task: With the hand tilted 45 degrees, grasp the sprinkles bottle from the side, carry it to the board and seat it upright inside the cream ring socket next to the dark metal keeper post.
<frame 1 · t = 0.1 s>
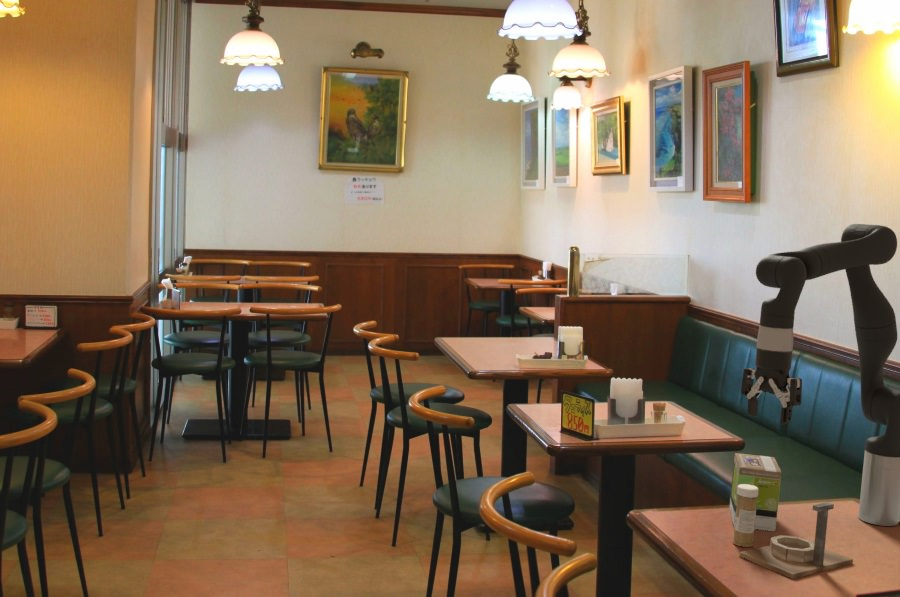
hand: (768, 419, 222), 29 cm above the table, tool pointing down, fingers open, 8 cm apart
socket base: (795, 560, 218), on the table
sprinkles bottle: (743, 545, 227), on the table
tea box: (751, 521, 245), on the table
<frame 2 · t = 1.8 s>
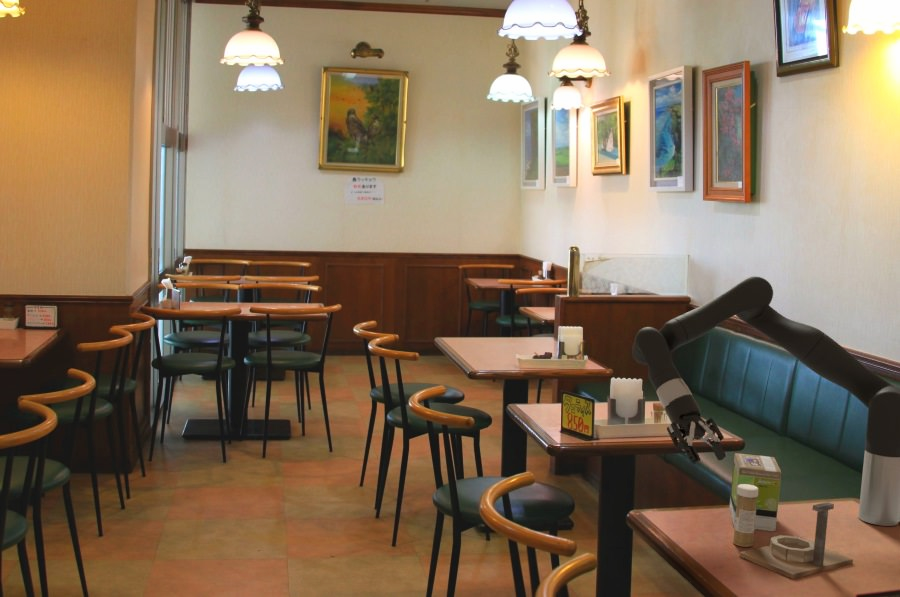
hand: (709, 460, 234), 16 cm above the table, tool tilted 45°, fingers open, 8 cm apart
nothing on the table moved.
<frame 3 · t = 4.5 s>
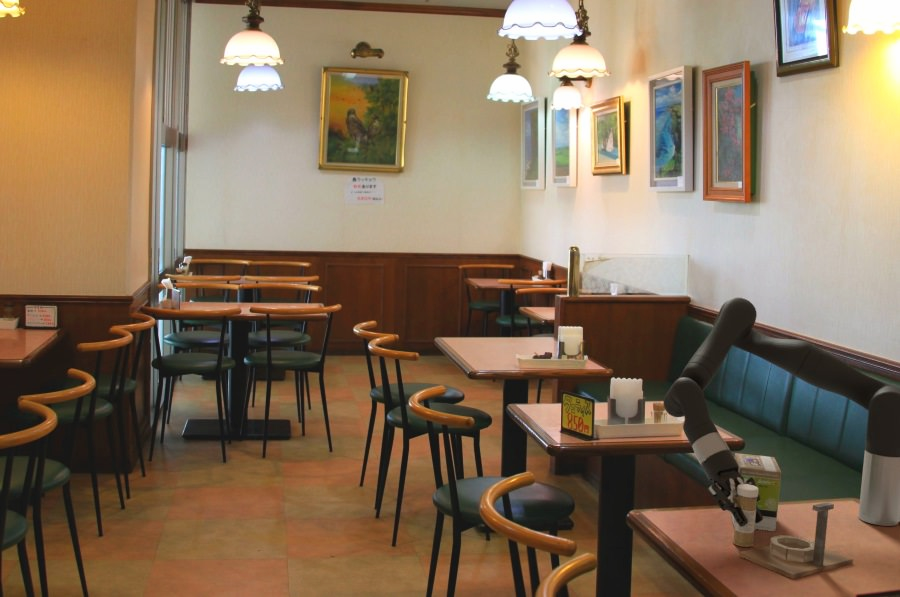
hand: (751, 522, 225), 6 cm above the table, tool tilted 45°, fingers closed on sprinkles bottle, 4 cm apart
sprinkles bottle: (743, 545, 227), on the table, touching gripper
everything else where it was.
when the fingers open (8 cm above the table, at t = 8.6 s): sprinkles bottle drops 1 cm, resting on socket base.
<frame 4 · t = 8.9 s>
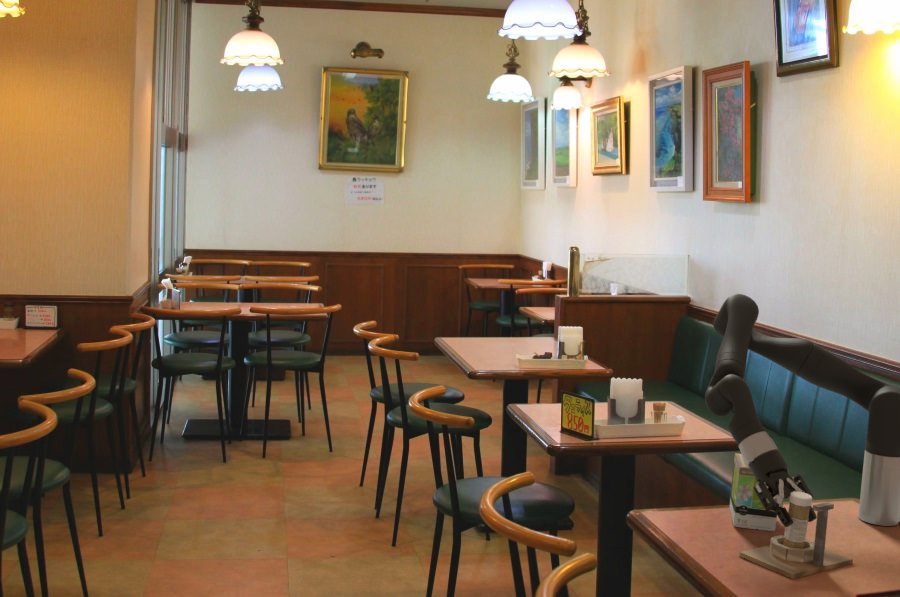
hand: (801, 522, 217), 9 cm above the table, tool tilted 45°, fingers open, 7 cm apart
sprinkles bottle: (791, 554, 219), point 1 cm above the table, touching socket base
everything else where it was.
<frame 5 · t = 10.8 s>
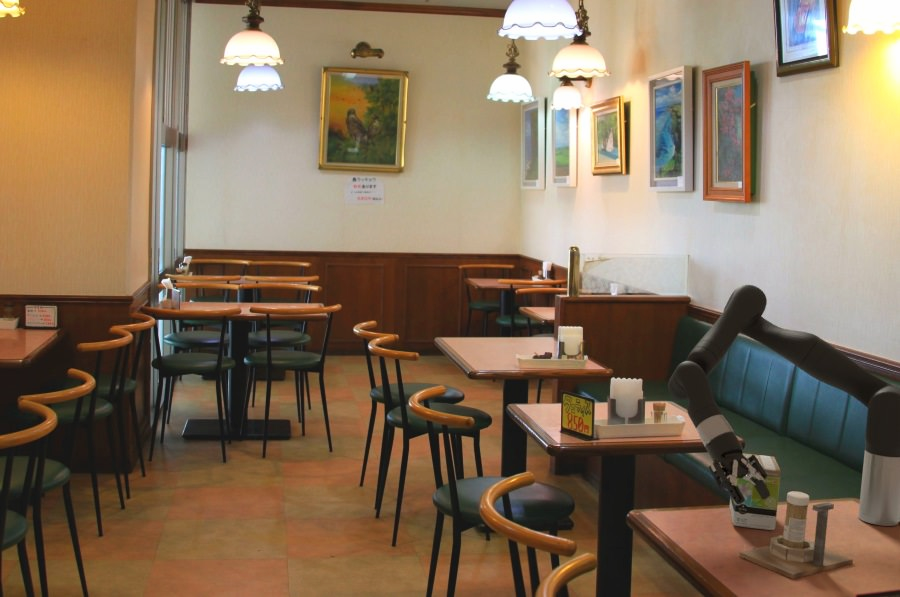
hand: (754, 500, 228), 10 cm above the table, tool tilted 45°, fingers open, 8 cm apart
tea box: (751, 520, 245), on the table, touching hand
everything else where it was.
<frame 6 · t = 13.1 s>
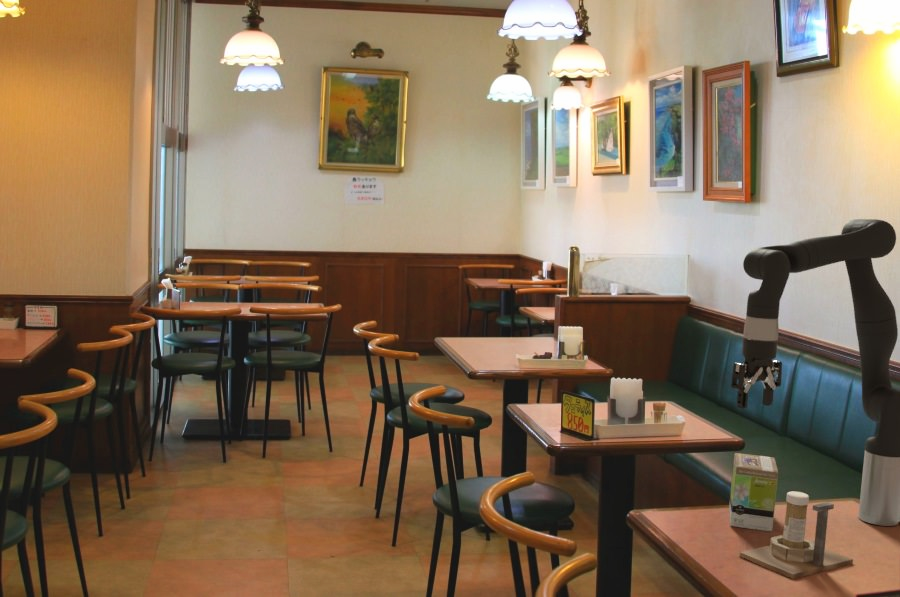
hand: (754, 406, 231), 30 cm above the table, tool pointing down, fingers open, 8 cm apart
tea box: (750, 521, 245), on the table
everything else where it was.
at the end: sprinkles bottle 0.1 cm from the target spot on the socket base, point 0.8 cm above the socket base's base; sprinkles bottle tilted 1°; the gripper is holding nothing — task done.
